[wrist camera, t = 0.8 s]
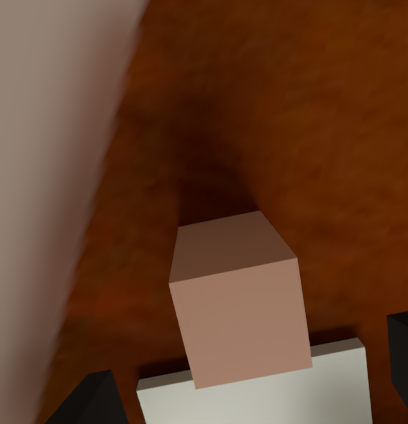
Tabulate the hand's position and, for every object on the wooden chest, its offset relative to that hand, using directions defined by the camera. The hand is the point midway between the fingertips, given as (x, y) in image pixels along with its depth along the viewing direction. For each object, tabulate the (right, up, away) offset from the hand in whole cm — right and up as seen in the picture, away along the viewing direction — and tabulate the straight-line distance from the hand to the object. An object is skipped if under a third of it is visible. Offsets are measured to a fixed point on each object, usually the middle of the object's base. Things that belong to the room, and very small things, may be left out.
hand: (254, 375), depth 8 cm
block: (0, +2, +8) cm, 8 cm away
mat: (+2, -8, +11) cm, 14 cm away
